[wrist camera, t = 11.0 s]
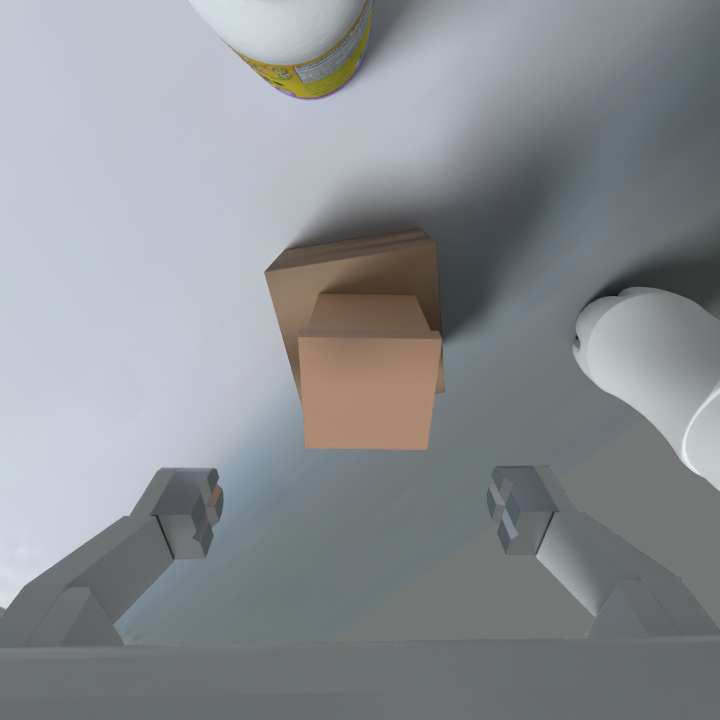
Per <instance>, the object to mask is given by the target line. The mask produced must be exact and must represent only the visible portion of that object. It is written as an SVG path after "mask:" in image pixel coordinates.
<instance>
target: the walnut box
mask: <svg viewBox="0 0 720 720" xmlns="http://www.w3.org/2000/svg"><path fill="white" fill-rule="evenodd" d="M264 273H265V277H266V280H267V284H268V287H269V291H270V294H271V298H272V301H273V305H274V309H275V312H276V316H277V319H278V323H279V326H280V330H281V334H282V337H283V341H284V344H285V348H286V351H287V355H288V358H289V362H290V366H291V369H292V373H293V376H294V380H295V383H296V387H297V390H298V394H299V398H300V401H301V405H302V390H301V375H300V360H299V345H298V336H299V333H300V330H301V329H308V326H309V322H310V319H311V316H312V313H313V310H314V307H315V303H316V300H317V297H318V294H371V295H415V296H416V299H417V301H418V303H419V305H420V308H421V310H422V312H423V314H424V317H425V319H426V321H427V323H428V326H429V328H430V330H431V331H439V333H440V336H441V338H442V331H441V313H440V295H439V277H438V259H437V244H436V243H435V242H434V241H433V240H431V239H430V238H429V237H428V236H427V235H426V234H425V233H424V232H423V231H422V230H421V229H420V228H416V229H410V230H404V231H398V232H392V233H386V234H380V235H374V236H368V237H361V238H355V239H349V240H343V241H337V242H331V243H325V244H319V245H313V246H307V247H301V248H294V249H288V250H284V251H283V252H282V253H281V254H280V255H279V256H278V257H277V259H276V260H275V261H274V262H273V263H272V264H271V265H270V266H269V267H268V269H267V270H266V271H265V272H264ZM444 392H445V385H444V367H443V349H442V345H441V352H440V360H439V367H438V374H437V381H436V389H435V394H436V393H444ZM302 408H303V405H302Z"/></svg>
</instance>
